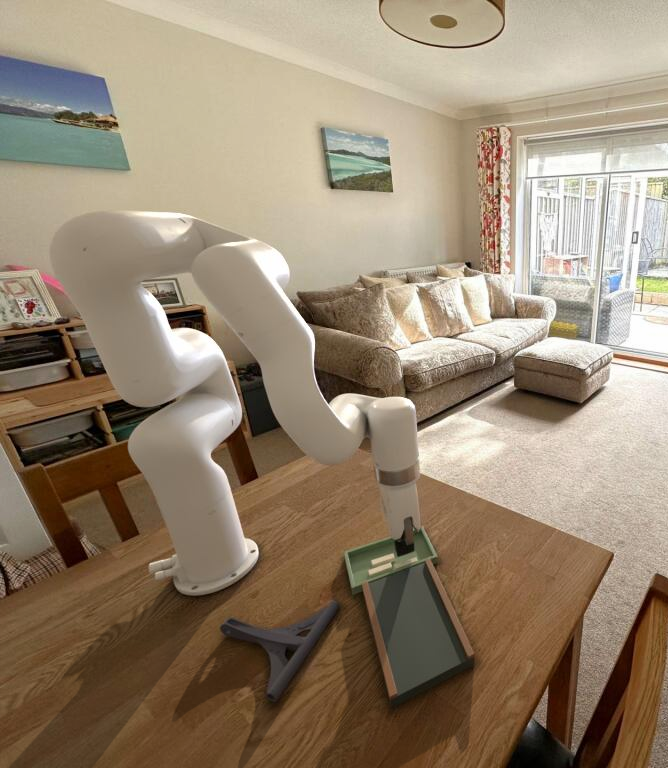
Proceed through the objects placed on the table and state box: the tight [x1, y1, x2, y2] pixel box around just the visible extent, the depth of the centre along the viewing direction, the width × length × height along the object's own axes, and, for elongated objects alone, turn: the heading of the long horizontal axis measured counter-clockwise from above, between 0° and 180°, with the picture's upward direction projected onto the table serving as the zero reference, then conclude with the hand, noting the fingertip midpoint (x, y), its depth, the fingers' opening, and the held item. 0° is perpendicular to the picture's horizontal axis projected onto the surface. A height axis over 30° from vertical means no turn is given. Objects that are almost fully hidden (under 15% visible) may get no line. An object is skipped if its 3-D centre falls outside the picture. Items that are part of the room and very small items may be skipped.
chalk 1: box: [371, 554, 395, 568], centre depth 75 cm, size 4×1×1 cm, turn 118°
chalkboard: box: [362, 558, 475, 709], centre depth 63 cm, size 12×20×2 cm, turn 29°
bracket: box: [219, 600, 341, 703], centre depth 60 cm, size 14×15×3 cm
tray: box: [343, 525, 439, 596], centre depth 76 cm, size 15×9×2 cm, turn 119°
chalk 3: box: [394, 557, 417, 569], centre depth 74 cm, size 4×1×1 cm
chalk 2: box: [368, 563, 392, 579], centre depth 73 cm, size 4×1×1 cm, turn 119°
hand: (405, 551), depth 75 cm, fingers closed
